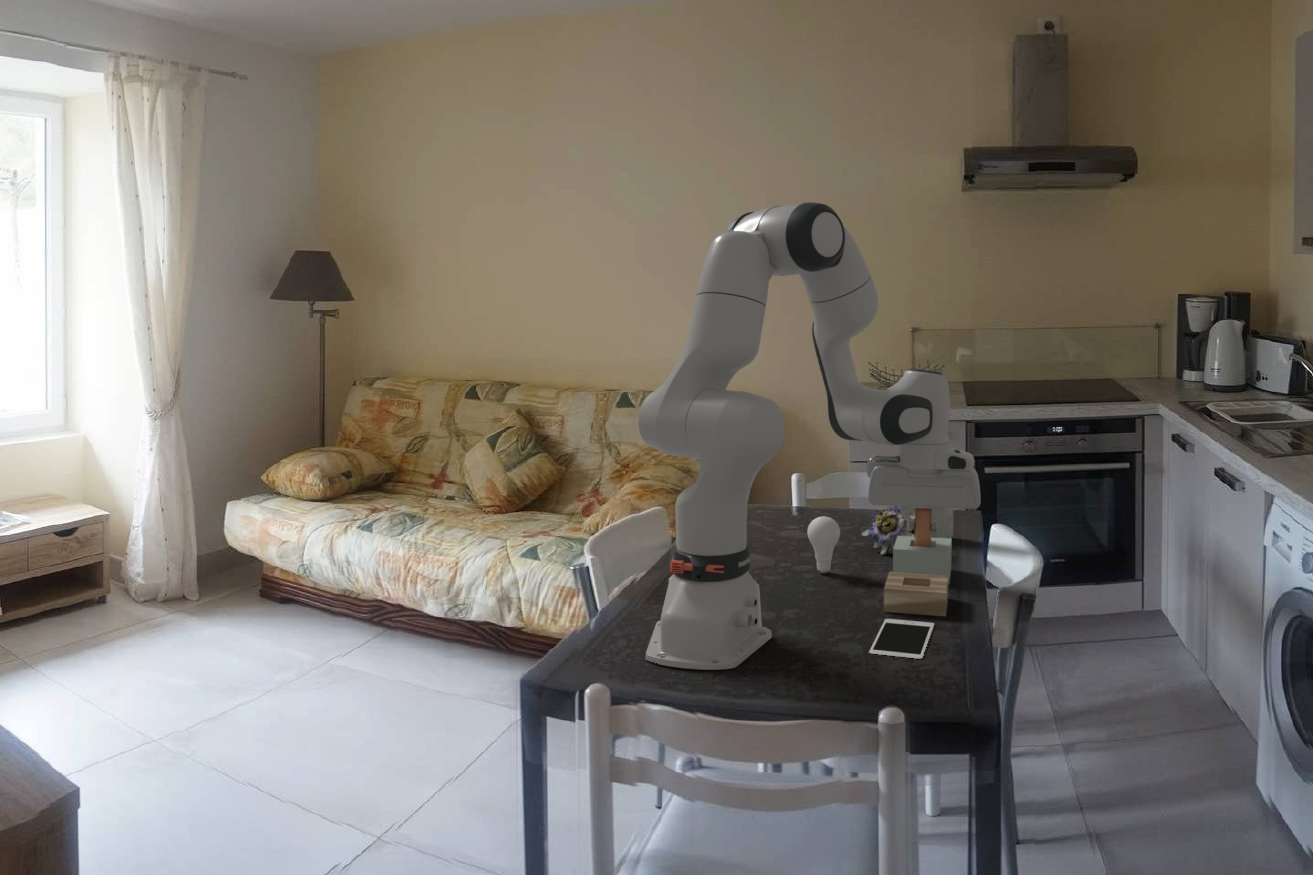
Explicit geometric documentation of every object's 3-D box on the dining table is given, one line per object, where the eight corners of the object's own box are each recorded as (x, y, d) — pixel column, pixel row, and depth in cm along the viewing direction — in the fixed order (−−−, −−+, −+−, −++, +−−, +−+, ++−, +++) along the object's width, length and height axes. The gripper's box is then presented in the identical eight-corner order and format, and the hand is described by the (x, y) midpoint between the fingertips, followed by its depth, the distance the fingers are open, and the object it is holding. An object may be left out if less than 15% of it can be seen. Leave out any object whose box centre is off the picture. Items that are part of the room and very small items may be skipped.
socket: (949, 584, 179) (950, 552, 178) (892, 580, 183) (893, 549, 182) (951, 569, 189) (951, 538, 188) (897, 565, 192) (897, 535, 191)
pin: (930, 564, 184) (931, 511, 182) (913, 563, 184) (914, 510, 183) (931, 559, 186) (932, 507, 185) (914, 558, 187) (915, 507, 186)
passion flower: (884, 580, 201) (849, 532, 202) (903, 558, 209) (870, 511, 210) (927, 557, 194) (890, 507, 195) (945, 535, 202) (910, 487, 203)
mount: (945, 616, 163) (946, 592, 162) (883, 611, 166) (883, 588, 165) (947, 597, 172) (948, 575, 171) (888, 593, 175) (889, 571, 174)
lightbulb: (839, 578, 185) (839, 520, 183) (806, 577, 186) (806, 520, 184) (840, 569, 191) (840, 513, 189) (808, 568, 192) (808, 512, 190)
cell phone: (934, 626, 159) (934, 622, 159) (922, 662, 144) (922, 658, 144) (885, 621, 162) (885, 618, 162) (868, 656, 147) (868, 652, 147)
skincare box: (953, 537, 212) (955, 466, 209) (944, 545, 206) (946, 471, 204) (915, 533, 216) (916, 463, 214) (905, 540, 210) (906, 468, 208)
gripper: (864, 458, 183) (864, 531, 185) (981, 461, 176) (979, 536, 178) (868, 452, 188) (868, 523, 191) (981, 455, 182) (979, 528, 184)
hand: (923, 529), depth 184 cm, fingers closed on pin, 3 cm apart
